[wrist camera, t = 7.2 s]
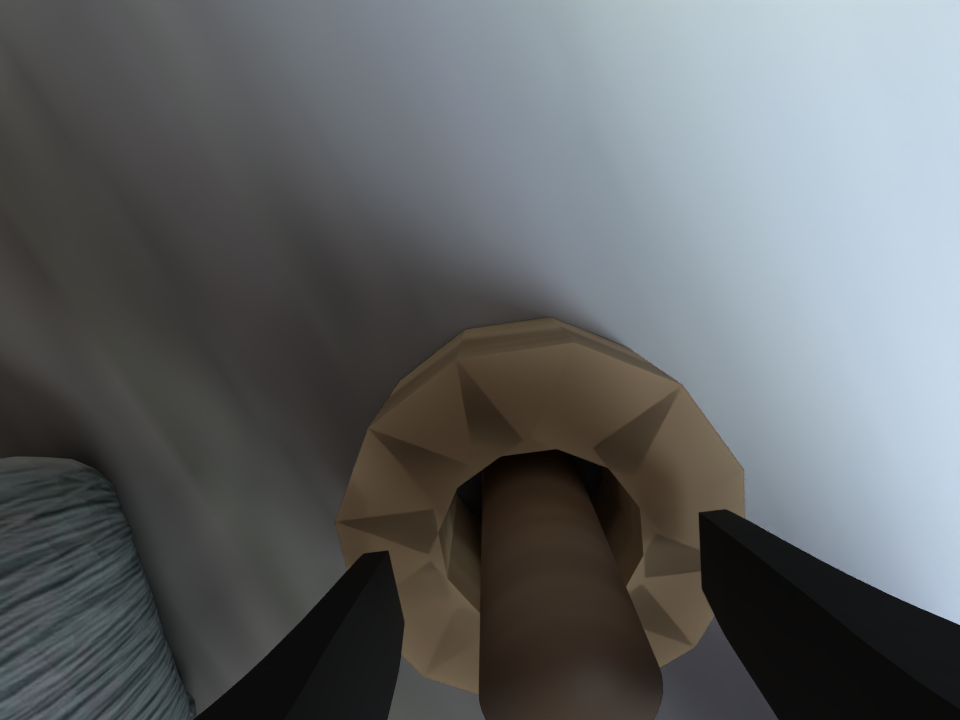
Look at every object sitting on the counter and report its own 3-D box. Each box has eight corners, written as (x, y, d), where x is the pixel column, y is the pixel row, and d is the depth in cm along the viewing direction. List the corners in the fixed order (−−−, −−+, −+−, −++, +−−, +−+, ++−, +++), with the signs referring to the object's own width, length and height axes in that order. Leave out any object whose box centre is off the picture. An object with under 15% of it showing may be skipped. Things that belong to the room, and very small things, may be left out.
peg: (576, 500, 15) (666, 754, 8) (489, 510, 16) (492, 770, 8) (567, 418, 15) (657, 606, 7) (476, 430, 15) (465, 626, 7)
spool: (266, 855, 15) (-376, 1539, 6) (124, 739, 20) (-361, 1043, 11) (268, 445, 15) (-362, 559, 6) (127, 426, 20) (-353, 476, 11)
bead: (684, 578, 16) (747, 682, 12) (409, 609, 17) (385, 719, 13) (669, 299, 14) (741, 318, 10) (350, 346, 14) (299, 381, 10)
